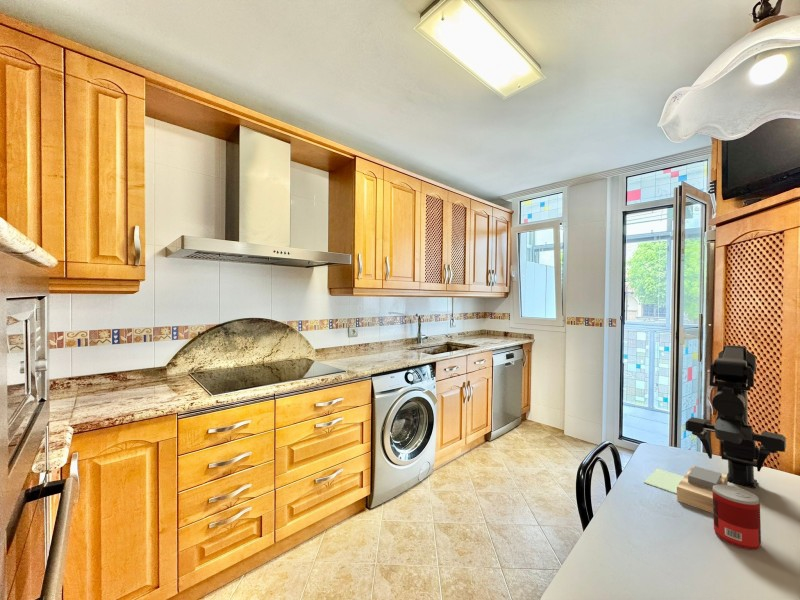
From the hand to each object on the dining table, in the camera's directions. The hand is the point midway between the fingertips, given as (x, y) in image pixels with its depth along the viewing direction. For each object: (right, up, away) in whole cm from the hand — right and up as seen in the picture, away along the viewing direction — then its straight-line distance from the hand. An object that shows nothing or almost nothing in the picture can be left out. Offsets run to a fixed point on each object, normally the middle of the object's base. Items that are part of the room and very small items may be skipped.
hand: (733, 464), depth 89 cm
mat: (-5, -13, +16) cm, 21 cm away
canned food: (-10, -13, -10) cm, 19 cm away
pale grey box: (0, -9, +8) cm, 12 cm away
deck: (-1, -13, +8) cm, 15 cm away
